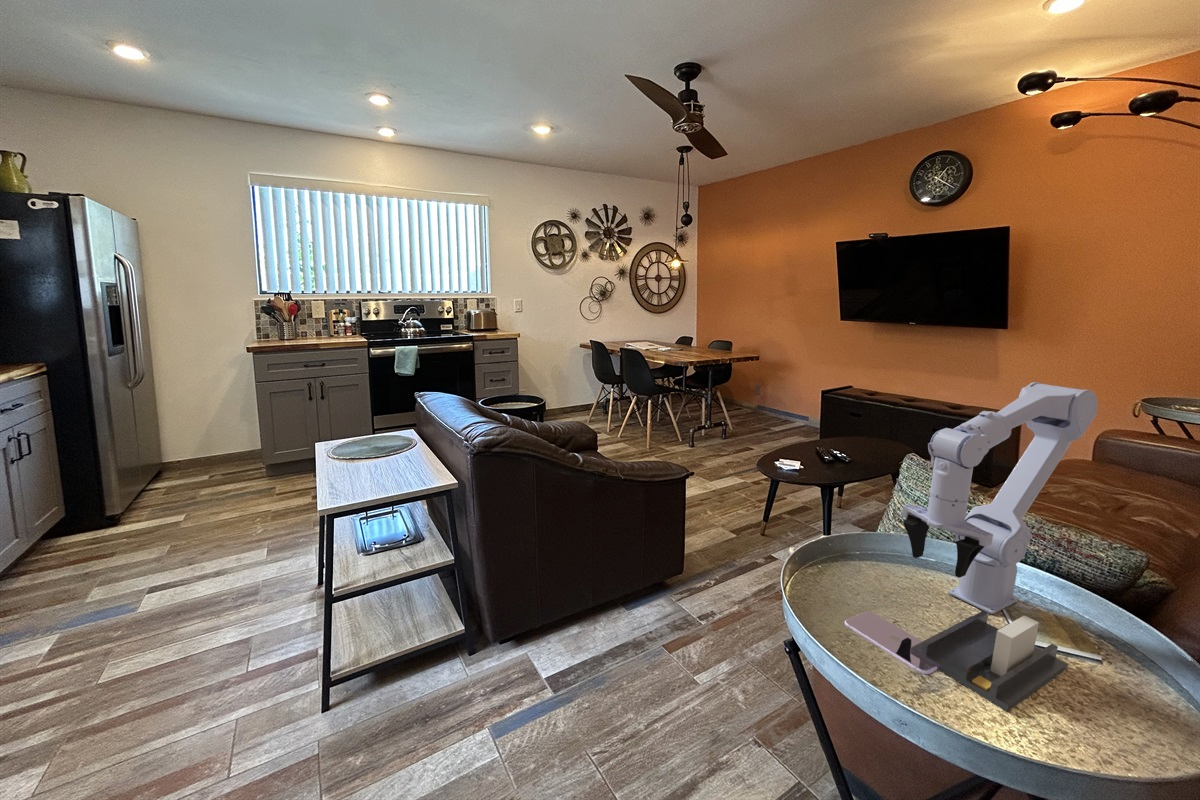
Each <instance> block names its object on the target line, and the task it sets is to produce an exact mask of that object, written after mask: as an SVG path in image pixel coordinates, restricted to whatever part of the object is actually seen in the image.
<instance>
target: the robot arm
mask: <svg viewBox="0 0 1200 800" xmlns="http://www.w3.org/2000/svg"><path fill="white" fill-rule="evenodd" d="M1098 402H1099V401H1098V397H1097V395H1096V394H1095V392H1094V391H1093V390H1090V389H1079V388H1072V387H1065V386H1060V385H1059V386H1058V385H1051V384H1046V383H1045V384H1044V383H1041V382H1038V381H1034V382H1031V383H1029V384H1028V385H1027V386H1025V387H1024V386H1023V387H1021V389H1020V392H1019V395H1018V398H1016V399H1014V400H1013V401H1012V402H1010V403H1009V404H1007V405H1006V406H1005V407H1002V409H1000V410H999V411H997V412H995V411H987V410H982V411H980V412H979V414H978V415H976V416H975V417H973V418H971V419H969V420H967V421H965V422H962V423H961V424H960V425H958V426H956V427H954V428H948V427H945V428H942V429H940V430H937V431H935V433H934V434H933V435H932V437H931V439H930V442H929V443H927V449H928V454H929V455H930V465H931V467H932V468H933V469H932V476H931V484H930V490H929V497H928V504H927V508H926V507H921V506H917V505H914V504H911V503H907V504H904V505H902V511H901V515H902V516H904V517H906V518H905V519H904V520H903V521H902V525H903V527H904V528H905V531H906V533H907V536H908V538H909V543H910V547H911V554H912V558H913V559H914V558H915V559H917V558H920V557H922V556H923V554H924V551H925V548H926V547H925V546H926V538H927V535H928V531H929V529H930V527H932V528H934V529H941V530H945V531H947V532H949V533H952V534H954V535H955V539H956V542H955V543H956V552H957V553H956V555H957V559H956V566H955V570H954V576H955V577H957V578H959V585H958V586H956V587H954V588H952V589H949V590H947V593H948V594H949V595H951V596H953V597H955V598H957V599H959V600H962V601H963V602H965V603H968V604H970V605H972V606H974V607H975V608H977V609H979V610H981V611H985V612H987V613H988V614H990V615H994V614H996V613H998V612H1000V611H1002V610H1004V609H1006V608H1007V607H1009V606H1011V605H1013V604H1014V603H1017V602H1019V598H1018V597H1017V596H1014V592H1015V591H1014V590H1015V586H1016V585H1015V584H1016V580H1017V573H1018V566H1017V564H1018V563H1020V562H1021V561H1023V558H1024V557H1025V555H1026V553H1027V550H1028V545H1029V543H1030V540H1031V539H1032V537H1033V535H1032V532H1031V530H1030V528H1029V527H1028V525H1027V524H1026V522H1025V520H1024V517H1025V516H1026V514H1027V512H1028V511H1029V509H1030V507H1031V506H1032V505H1033V503H1034V501H1035V500H1036V498H1037V496H1038V495H1039V494H1040V492H1041V490H1042V489H1043V487H1044V486H1045V484H1046V483H1047V481H1048V480H1049V478H1050V476H1052V473H1053V472H1054V470H1055V469H1056V467H1057V466H1058V465H1059V463H1060V461H1061V460H1062V458H1063V456H1064V455H1065V453H1066V452H1067V451H1068V450H1069V448H1070V446H1071V445H1072V443H1073V441H1077V440H1080V439H1081V438H1082V437H1083V436H1084V434H1085V432H1086V431H1088V428H1089V427H1090V425H1091V424H1092V422H1094V419H1095V418H1096V416H1097V414H1098ZM1023 424H1026V427H1027V428H1028V429H1029V430H1030V431H1032V432H1033V434H1034V437H1033V439H1032V440H1031V442H1030V443H1029V444H1028V446H1027V448H1026V449H1025V450H1024V453H1023V454H1022V456H1021V457H1020V458H1019V460H1018V461H1017V463H1016V464H1015V466H1014V468H1013V469H1012V471H1011V473H1010V474H1009V475H1008V477H1007V479H1006V480H1005V482H1004V483H1003V485H1002V486H1001V488H1000V489H999V490H998V492H997V494H996V495H995V497H994V498H993V499H992V501H991V503H988V504H984V505H982V504H981V505H979V506H974V507H972V509H971V510H970V512H968V514H967V510H968V504H969V503H968V502H969V498H970V497H969V496H970V491H971V485H972V484H971V483H972V477H973V471H974V467H977V466H978V465H979V464H980V463H981V462H982V461H983V459H984V457H985V456H986V455H987V454H988V453H989V451H990V449H992V448H993V447H995V446H997V445H999V444H1000V443H1002V442H1004V441H1006V440H1007V439H1009V438H1010V436H1011V435H1012V429H1014V428H1016V427H1019V426H1021V425H1023ZM1005 607H1006V608H1005Z"/></svg>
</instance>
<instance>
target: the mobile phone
mask: <svg viewBox="0 0 1200 800" xmlns="http://www.w3.org/2000/svg"><path fill="white" fill-rule="evenodd" d="M844 626H846V627H847V628H848V629H850V630H851V629H852V630H851V631H853V632H855V633H856V634H858V635H859V636H860V637H862V638H864V639H865V640H867V641H869V642H870V643H872V644H873V645H875V646H877V647H879V648H880V649H881V650H883V651H885V652H886V653H887V654H889V655H891V656H892V657H894V658H895V659H897V660H898V661H900V662H901V663H903V664H904V665H906V666H908V668H910V669H912V670H914V671H916V672H917V673H919V674H922V675H929V674H931V673H934V672H935V671H937V670H938V669H937V666H936V665H934V664H932V663H931V662H929V661H927V660H926V659H924V658H923V657H921V656H919V655H918V654H916V653H914V652H913V651H911V647H913V646H915V645H917V644H919V643H921V642H923V641H924V640H921V639H919V638H917V637H916V636H914V635H913V634H911V633H909V632H907V631H905V630H904V629H903V628H901V627H899V626H897V625H895V624H893V623H891V622H890V621H889V620H887V619H885V618H883V617H882V616H880V615H878V614H876V613H875V612H873V611H869V610H867V611H864V612H862V613H858V614H856V615H854V616H851V617H849V618H847V619H846V620H845V621H844Z"/></svg>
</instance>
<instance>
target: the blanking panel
mask: <svg viewBox="0 0 1200 800" xmlns="http://www.w3.org/2000/svg"><path fill="white" fill-rule="evenodd" d="M1009 623H1010V624H1008V623H1007V624H1008V625H1007V624H1005V625H1006V626H1005V625H1004V626H1005V627H1003V626H1002V627H1003V628H1001V627H1000V628H1001V629H1000V628H998V629H999V630H997V635H996V640H995V646H994V652H993V658H992V664H991V670H990V671H992V672H994V673H996V674H998V675H999V676H1003V675H1004V674H1006V673H1007V672H1009V671H1010V670H1012V669H1013V668H1015V667H1016V666H1018V665H1020V664H1021V663H1023V662H1024V661H1026V660H1027V659H1029V658H1030V657H1032V656H1033V652H1034V647H1036V640H1037V635H1038V630H1039V626H1040V625H1039V624H1040V622H1039V621H1038V620H1035V619H1032V618H1031V617H1028V616H1026V615H1022V616H1020V617H1018V618H1017V619H1015V620H1013V621H1011V622H1009Z"/></svg>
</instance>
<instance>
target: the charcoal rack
mask: <svg viewBox="0 0 1200 800" xmlns="http://www.w3.org/2000/svg"><path fill="white" fill-rule="evenodd" d="M988 616H989V613H988V612H986V611H984V610H981V611H980V612H978V613H976V614H973V615H971V616H969V617H967V618H964V620H961V621H959V622H957V623H955V624H953V625H951V626H949V627H948V628H945V629H944V630H942V631H940V632H938V633H936V634H935V635H933V636H931V637H928V638H926V639H925V640H922V641H923V642H921V643H919V644H917V645H915V646H913V647H911V651H913V652H914V653H916V654H918V655H919V656H921V657H923V658H924V659H926V660H927V661H929V662H931V663H932V664H934V665H936V666H937V670H938V671H940V672H941V673H943V674H945V675H946V676H948V677H950V678H952V679H953V680H955V681H956V682H958V683H959V684H960V685H962V686H964V687H965V688H968V689H969V690H971V691H972V692H974V693H975V694H977V695H979V696H981V697H982V698H984V699H986V700H987V701H988V702H990V703H992V704H994V705H996V706H997V707H999V708H1000V709H1002V710H1004V711H1005V712H1007V713H1008V712H1009V711H1010V710H1012V709H1014V708H1015V707H1016V706H1018V705H1019V704H1021V703H1022V702H1023V701H1024V700H1026V699H1027V698H1029V697H1030V696H1032V695H1033V694H1035V693H1036V692H1038V691H1039V690H1040V689H1041V688H1043V687H1044V686H1046V685H1047V684H1049V683H1050V682H1051V681H1053V680H1054V679H1055V678H1058V676H1060V675H1061V674H1063V673H1064V672H1065V671H1067V670H1068V667H1069V663H1068V662H1066V661H1064V660H1062V659H1060V658H1057V653H1058V649H1059V648H1058V647H1059V646H1058V645H1056V644H1054V643H1051V644H1049V645H1047V646H1046V647H1044V648H1043V649H1039V648H1037V647H1036V646H1035V647H1034V652H1033V656H1032V657H1030V658H1029V659H1027V660H1026V661H1024V662H1023V663H1021V664H1020V665H1018V666H1016V667H1015V668H1013V669H1012V670H1010V671H1009V672H1007V673H1006V674H1004V675H1003V676H999V675H998V674H996V673H994V672H992V671H990V670H991V664H992V658H993V652H994V646H995V640H996V635H997V630H999V629H1001V628H1003V627H1005V626H1006V625H1008V624H1010V623H1011V622H1009V623H1007V624H1005V625H1003V626H1001V627H1000V628H997V627H996V626H994V625H992V624H989V623H988V618H989V617H988Z"/></svg>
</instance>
